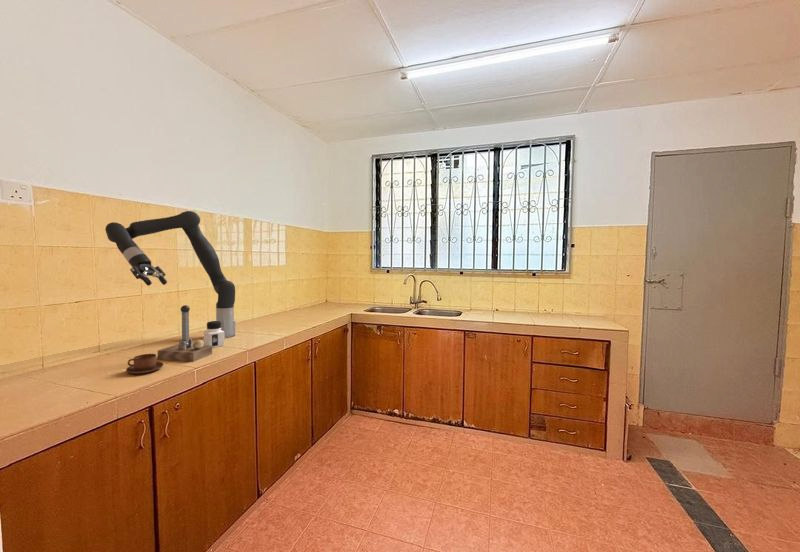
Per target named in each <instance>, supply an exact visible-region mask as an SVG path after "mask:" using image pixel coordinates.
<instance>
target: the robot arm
mask: <svg viewBox="0 0 800 552" xmlns="http://www.w3.org/2000/svg"><path fill="white" fill-rule="evenodd" d="M200 223H201V217H200V215H199V214H198V213H196V211H191V210H185V211H183V212H180V213H179V214H175V215H173V216H167V217H161V218H153V219H152V218H151V219H145V220H139V221H133V222H131V223H130V224H129V226H128V227H125V226H124V224H123V225H122V224H121V223H119V222H114V221H113V222H109V223H107V225H106V226H105V235H106V236H107V239H108V240H109V241H110V242H112V243H115V244H116V247H117V249H118V250H119V251H120V253H121V254H122V256H123V257H124V258H125V260H126V262H127V263H128V264H129V265H130V266H131V268H130V269H129V270H130V272H131V273H132V275H133V276H134V277H135V280H136V279H137V280H141V281H143V282H144V284H145V285H146V286H149V287H150V286H151V285H152V284H153V282H152V280H151V279H150V278H149V276H151V277H152V278H156V279H158V280H159V282H160V283H161V284H162V285H163V286H164V285H167V284H168V280H167V279H166V278H165V276H166V275H167V274H166V272H164V271H163V269H161V267H160V266H159V265H156V266H155V267H154V266H153V265H152V260H151V259H150V258H149V257H148V255H146V253H145V252H144V251H143V250H142V249H141V248H140V247H139V246H138V244H137V243H136V242H135V241H134V239H136V238H138V237H142V236H147V235H152V234H156V233H161V232H164V231H169V230H174V229H182V231H184V234H185V235H186V236H187V238H188V240H189V242H190V244H191V247H192V249H193V250H194V253H195V254H196V257H197V259H198V260H199V263H200V264H201V265H202V268H203V269H204V270H205V272H206V273H207V275H208V278H209V279H210V282H211V284H212V287H213V289H214V291H215V293H216V294H217V302H216V304H215V316H216V317H215V319H216V320H215V321H220V322H221V329H220V330H222V331H224V339H225V338H232V337H234V336H236V319H235V311H234V310H235V306H234V305H235V302H236V286H235V283H234V282H232V281H231V280H227V278H226V277H225V275H224V274H223V271H222V269H221V268H222V267H221V264H220V259H219V256H218V254H217V252H216V251H215V249H214V247H213V245H212V243H210V242H209V240H208V239H207V238H206V236H205V235H204V234H203V232H202V231H201V228H200V226H199V225H200Z"/></svg>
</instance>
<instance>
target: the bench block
mask: <svg viewBox="0 0 800 552" xmlns="http://www.w3.org/2000/svg"><path fill="white" fill-rule="evenodd" d="M189 343H190V346H189V347H187V348H186V341H182V340H178V343H176V344H174V345H170V346H167V347H165V348H161V349H158V350H157V360H166V361H167V360H168V361H177V362H178V361H180V362H192V363H193V362H196V361H199V360H201V359H203V358H206V357H208V356H210V355H211V356H212V354H213V348H212V346H207V345H204V340H202V339H200V338H199V339H195V340H194V341H193V339H192V338H189Z"/></svg>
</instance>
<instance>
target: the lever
mask: <svg viewBox="0 0 800 552" xmlns="http://www.w3.org/2000/svg"><path fill="white" fill-rule="evenodd" d="M190 310H191V309H190V306H189V305H186V304H185V305H184V304H183V305H181V307H180V312H181V341H186V348H187V347H189V346H190V343H189V339H190V315H189V314H190Z"/></svg>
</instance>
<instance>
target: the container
mask: <svg viewBox="0 0 800 552" xmlns="http://www.w3.org/2000/svg"><path fill="white" fill-rule="evenodd" d="M220 329H221V322H220V321H216V320H210V321H208V322H206V330H203V343H204V345H207V346H212V349H213V348H216V347H217V348H219V347H224V346H225V338H224V331H222V330H220Z"/></svg>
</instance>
